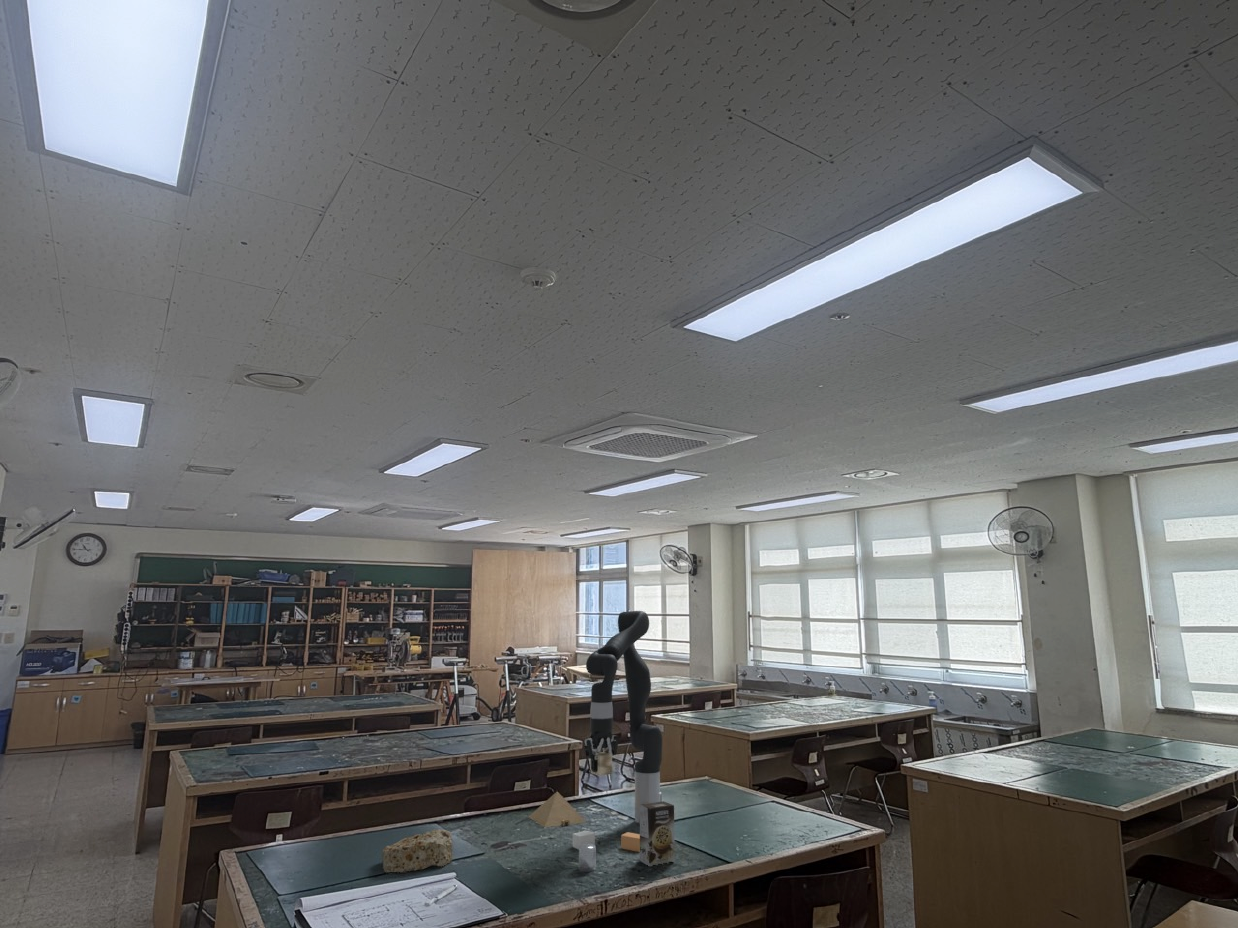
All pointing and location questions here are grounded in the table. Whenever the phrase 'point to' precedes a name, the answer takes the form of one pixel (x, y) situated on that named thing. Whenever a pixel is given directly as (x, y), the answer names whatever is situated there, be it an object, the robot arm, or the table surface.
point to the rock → (419, 852)
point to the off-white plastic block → (583, 838)
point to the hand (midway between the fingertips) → (601, 770)
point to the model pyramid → (556, 813)
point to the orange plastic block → (630, 841)
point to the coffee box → (656, 833)
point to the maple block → (604, 764)
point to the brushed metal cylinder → (587, 857)
